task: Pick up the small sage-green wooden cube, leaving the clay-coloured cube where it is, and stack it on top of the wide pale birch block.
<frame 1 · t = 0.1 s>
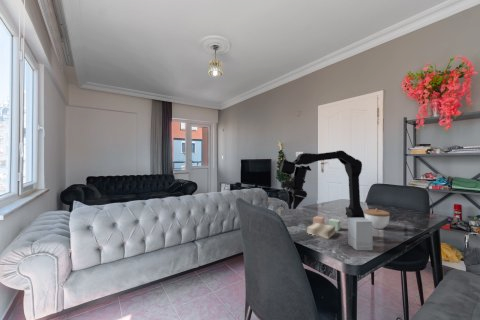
hand: (291, 206, 111), 15 cm above the table, tool pointing down, fingers open, 9 cm apart
lidded bowl: (376, 227, 128), on the table
sage cube: (334, 229, 125), on the table
supplement box: (360, 247, 99), on the table
clay cube: (318, 225, 131), on the table
birch block: (321, 234, 117), on the table
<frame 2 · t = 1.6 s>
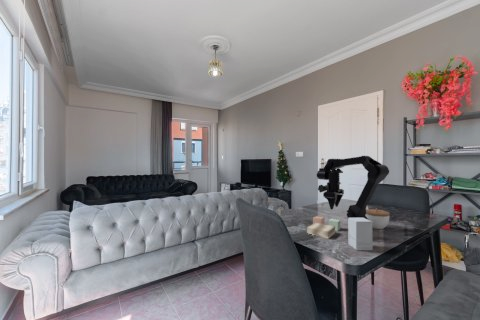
hand: (334, 207, 125), 12 cm above the table, tool pointing down, fingers open, 9 cm apart
nothing on the table moved.
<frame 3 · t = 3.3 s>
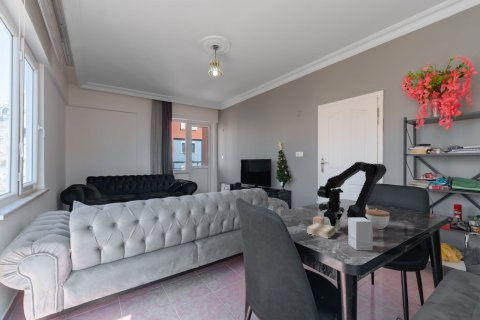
hand: (334, 227, 125), 1 cm above the table, tool pointing down, fingers closed on sage cube, 5 cm apart
sage cube: (334, 228, 125), on the table, touching gripper
everything else where it was.
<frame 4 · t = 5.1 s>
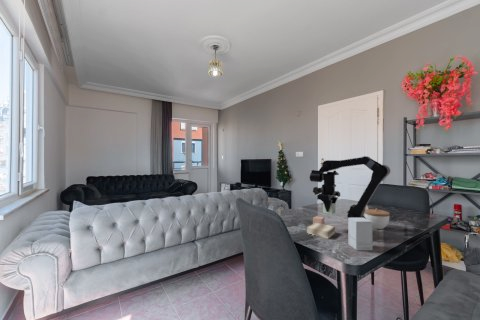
hand: (329, 210, 122), 11 cm above the table, tool pointing down, fingers closed on sage cube, 5 cm apart
sage cube: (329, 212, 122), point 10 cm above the table, touching gripper
everything else where it was.
when the fingers open (6 cm above the table, at t = 7.2 s): sage cube drops 2 cm, point 4 cm above the table.
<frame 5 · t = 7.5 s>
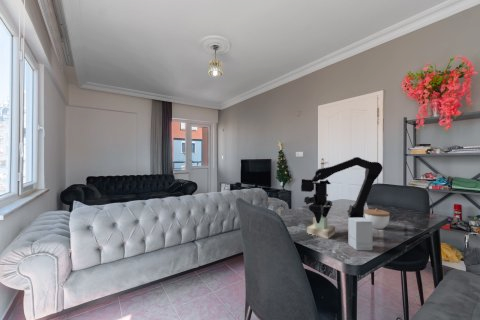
hand: (321, 221, 117), 7 cm above the table, tool pointing down, fingers open, 9 cm apart
sage cube: (321, 226, 117), point 4 cm above the table
everything else where it was.
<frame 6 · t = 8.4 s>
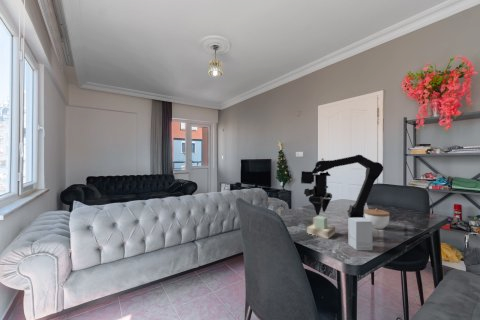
hand: (320, 213, 117), 11 cm above the table, tool pointing down, fingers open, 9 cm apart
nothing on the table moved.
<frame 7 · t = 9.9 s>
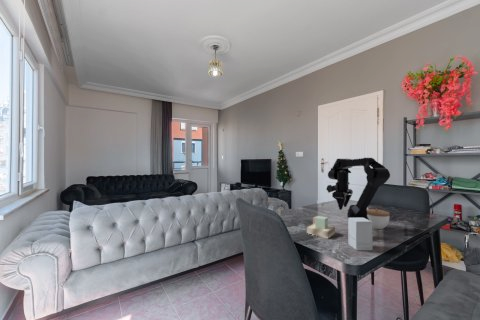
hand: (342, 208, 124), 12 cm above the table, tool pointing down, fingers open, 9 cm apart
sage cube: (321, 226, 117), point 4 cm above the table, touching birch block
birch block: (320, 234, 117), on the table, touching sage cube
everything else where it was.
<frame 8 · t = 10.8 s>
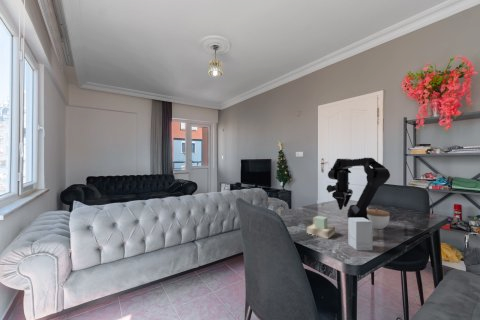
hand: (342, 208, 124), 12 cm above the table, tool pointing down, fingers open, 9 cm apart
nothing on the table moved.
at the end: sage cube inside the target area on the birch block (0.1 cm from its centre), point 4.0 cm above the birch block's base; sage cube tilted 0°; the gripper is holding nothing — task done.
